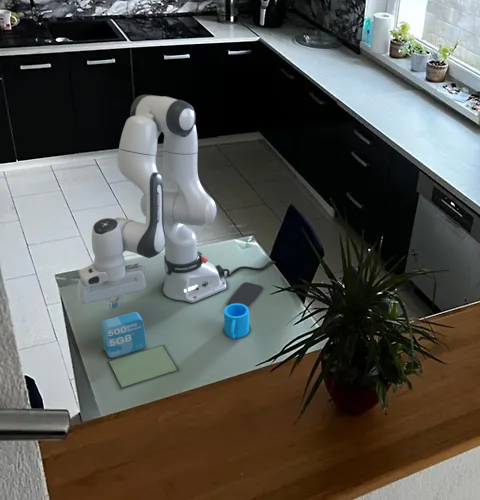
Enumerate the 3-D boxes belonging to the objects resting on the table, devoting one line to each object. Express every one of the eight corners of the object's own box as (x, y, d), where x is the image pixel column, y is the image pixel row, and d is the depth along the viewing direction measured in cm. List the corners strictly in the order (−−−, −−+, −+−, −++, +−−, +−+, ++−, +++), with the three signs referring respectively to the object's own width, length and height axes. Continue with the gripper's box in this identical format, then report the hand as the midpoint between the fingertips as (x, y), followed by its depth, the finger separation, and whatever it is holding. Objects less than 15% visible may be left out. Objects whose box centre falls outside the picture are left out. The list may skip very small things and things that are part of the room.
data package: (108, 359, 217) (104, 328, 210) (104, 351, 220) (100, 320, 214) (146, 348, 222) (143, 318, 216) (141, 340, 226) (138, 310, 219)
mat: (162, 346, 224) (162, 345, 224) (176, 370, 215) (176, 369, 215) (109, 362, 215) (109, 361, 215) (121, 387, 206) (121, 387, 206)
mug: (227, 321, 237) (226, 302, 233) (250, 323, 237) (250, 304, 233) (219, 343, 227) (219, 323, 223) (244, 346, 227) (244, 326, 223)
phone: (263, 285, 256) (246, 307, 243) (263, 287, 256) (246, 309, 244) (244, 281, 257) (227, 303, 245) (244, 283, 258) (227, 305, 245)
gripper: (140, 257, 221) (143, 293, 228) (73, 272, 211) (79, 309, 217) (147, 267, 216) (150, 303, 223) (79, 282, 206) (84, 320, 213)
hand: (114, 306), depth 220 cm, fingers closed
